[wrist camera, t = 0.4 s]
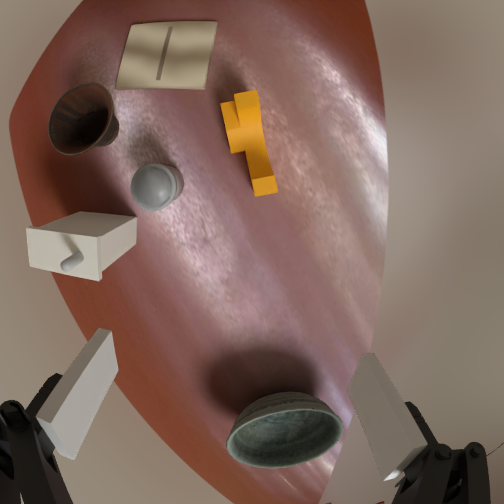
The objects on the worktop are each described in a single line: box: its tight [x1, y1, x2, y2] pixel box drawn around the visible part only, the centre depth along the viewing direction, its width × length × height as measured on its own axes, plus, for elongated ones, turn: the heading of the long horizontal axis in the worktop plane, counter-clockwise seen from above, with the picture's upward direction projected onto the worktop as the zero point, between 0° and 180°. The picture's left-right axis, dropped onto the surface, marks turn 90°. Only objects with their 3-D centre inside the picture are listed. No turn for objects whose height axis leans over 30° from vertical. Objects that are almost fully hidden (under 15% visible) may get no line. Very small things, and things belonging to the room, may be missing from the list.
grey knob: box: [131, 164, 184, 211], centre depth 33 cm, size 6×6×6 cm
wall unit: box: [26, 211, 137, 281], centre depth 30 cm, size 5×11×16 cm, turn 82°
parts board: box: [115, 21, 218, 90], centre depth 30 cm, size 11×13×1 cm
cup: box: [48, 83, 119, 155], centre depth 28 cm, size 9×9×10 cm
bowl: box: [226, 392, 344, 468], centre depth 44 cm, size 21×21×10 cm
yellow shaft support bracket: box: [220, 90, 278, 197], centre depth 32 cm, size 12×4×6 cm, turn 11°
